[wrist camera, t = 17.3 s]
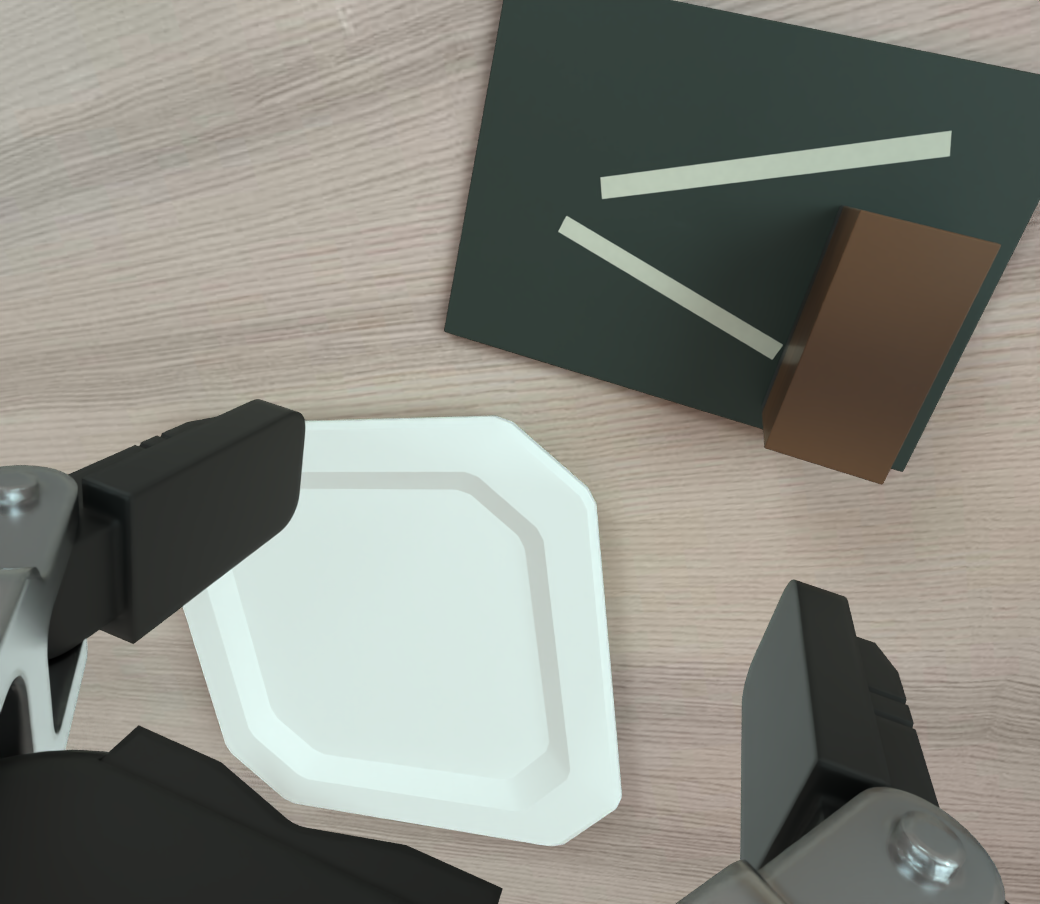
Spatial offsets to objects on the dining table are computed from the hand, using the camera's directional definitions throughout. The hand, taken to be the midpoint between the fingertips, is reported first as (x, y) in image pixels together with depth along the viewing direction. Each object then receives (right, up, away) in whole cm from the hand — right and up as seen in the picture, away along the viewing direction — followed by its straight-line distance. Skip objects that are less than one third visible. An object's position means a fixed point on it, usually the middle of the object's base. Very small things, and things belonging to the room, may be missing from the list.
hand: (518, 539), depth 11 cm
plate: (-7, -8, +28) cm, 30 cm away
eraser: (+13, +6, +16) cm, 21 cm away
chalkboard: (+8, +10, +16) cm, 21 cm away
